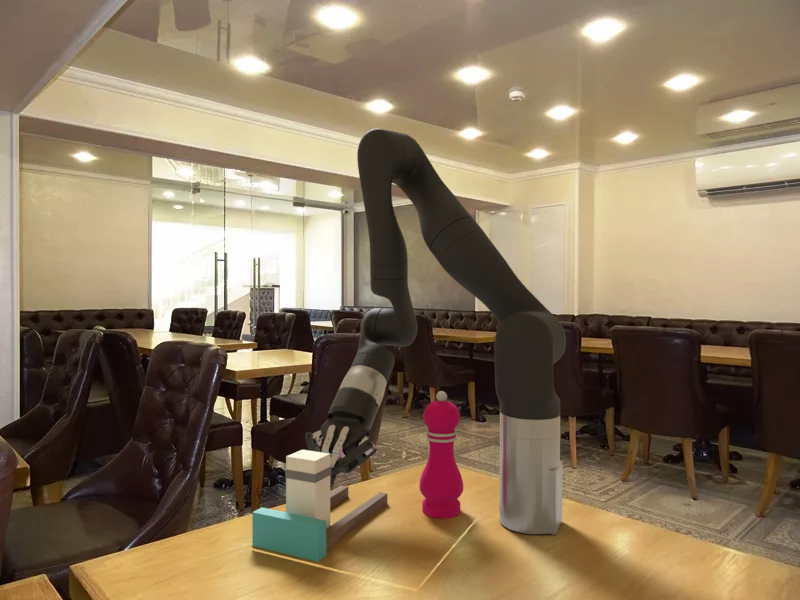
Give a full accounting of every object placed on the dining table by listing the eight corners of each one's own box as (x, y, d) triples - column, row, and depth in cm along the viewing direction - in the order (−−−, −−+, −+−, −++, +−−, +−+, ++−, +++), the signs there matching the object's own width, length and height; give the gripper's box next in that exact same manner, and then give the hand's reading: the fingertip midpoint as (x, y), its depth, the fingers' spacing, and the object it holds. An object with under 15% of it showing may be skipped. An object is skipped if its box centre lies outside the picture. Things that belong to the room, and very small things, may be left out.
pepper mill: (463, 505, 95) (463, 388, 95) (463, 522, 88) (464, 395, 88) (420, 503, 96) (421, 387, 96) (417, 520, 89) (418, 394, 88)
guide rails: (387, 505, 95) (387, 493, 95) (314, 560, 75) (314, 545, 75) (341, 496, 99) (341, 485, 99) (259, 547, 79) (259, 533, 79)
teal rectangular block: (326, 557, 76) (326, 520, 76) (317, 563, 74) (317, 526, 74) (261, 541, 81) (261, 507, 81) (252, 547, 79) (252, 512, 79)
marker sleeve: (331, 534, 83) (331, 453, 82) (315, 545, 79) (315, 461, 79) (302, 528, 85) (302, 449, 85) (285, 538, 81) (285, 456, 81)
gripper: (317, 382, 95) (271, 475, 84) (386, 388, 90) (347, 488, 79) (333, 408, 100) (292, 498, 89) (400, 414, 95) (365, 512, 84)
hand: (318, 493), depth 84 cm, fingers closed
